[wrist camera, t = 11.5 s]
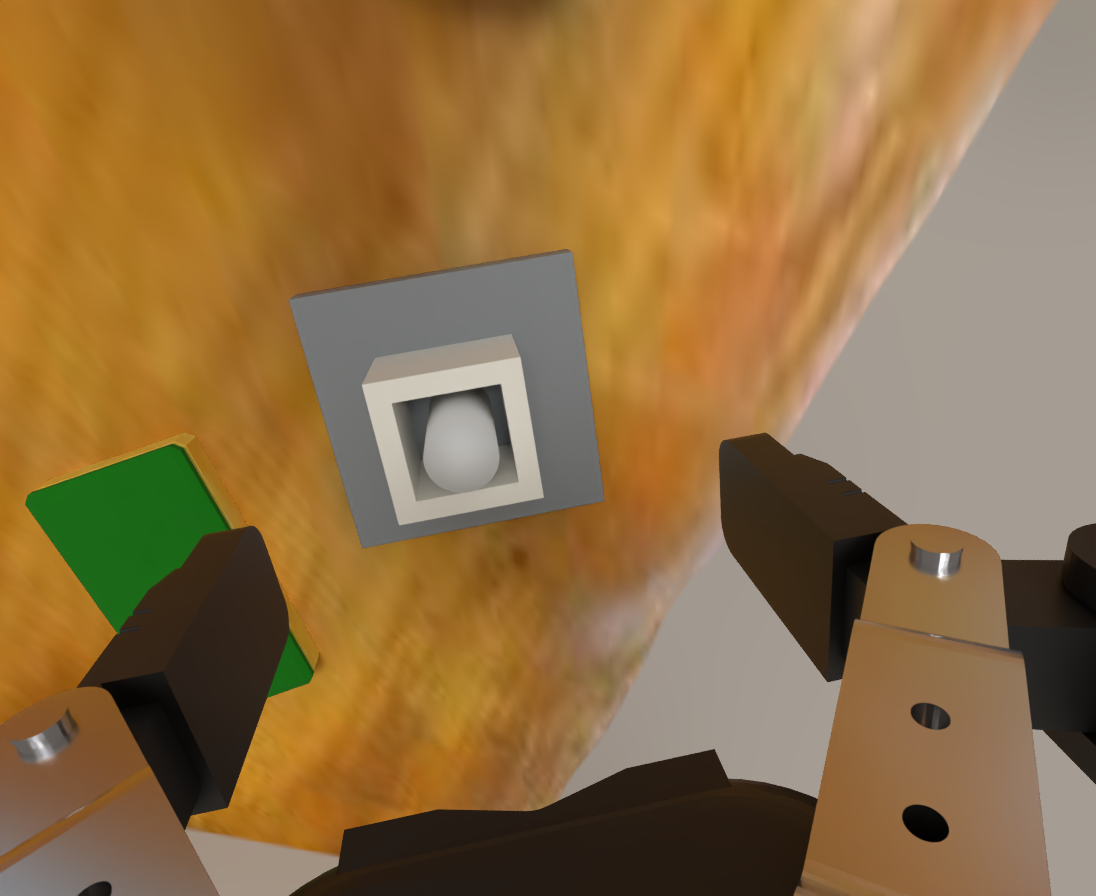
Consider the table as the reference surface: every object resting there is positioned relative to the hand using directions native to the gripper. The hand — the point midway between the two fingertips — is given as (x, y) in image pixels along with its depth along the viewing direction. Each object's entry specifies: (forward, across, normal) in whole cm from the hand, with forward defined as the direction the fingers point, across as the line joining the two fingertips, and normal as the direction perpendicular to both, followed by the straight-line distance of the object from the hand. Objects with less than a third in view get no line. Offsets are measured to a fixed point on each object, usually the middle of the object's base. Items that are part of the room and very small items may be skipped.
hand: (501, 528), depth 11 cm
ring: (+18, +1, +4) cm, 19 cm away
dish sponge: (+20, +16, +11) cm, 28 cm away
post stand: (+20, +1, +4) cm, 20 cm away
